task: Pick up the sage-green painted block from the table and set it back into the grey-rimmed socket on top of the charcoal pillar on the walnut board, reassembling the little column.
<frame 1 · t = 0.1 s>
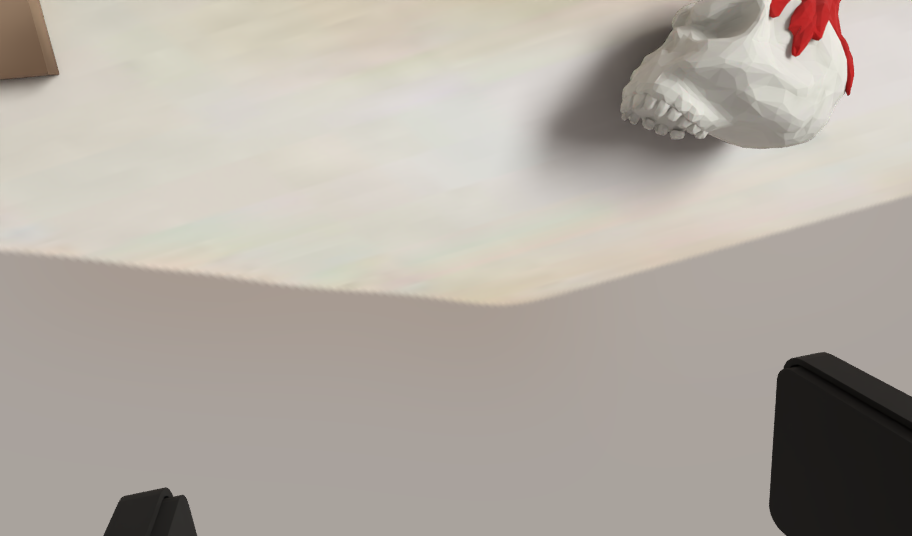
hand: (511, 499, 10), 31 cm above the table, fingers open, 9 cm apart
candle: (712, 62, 42), on the table
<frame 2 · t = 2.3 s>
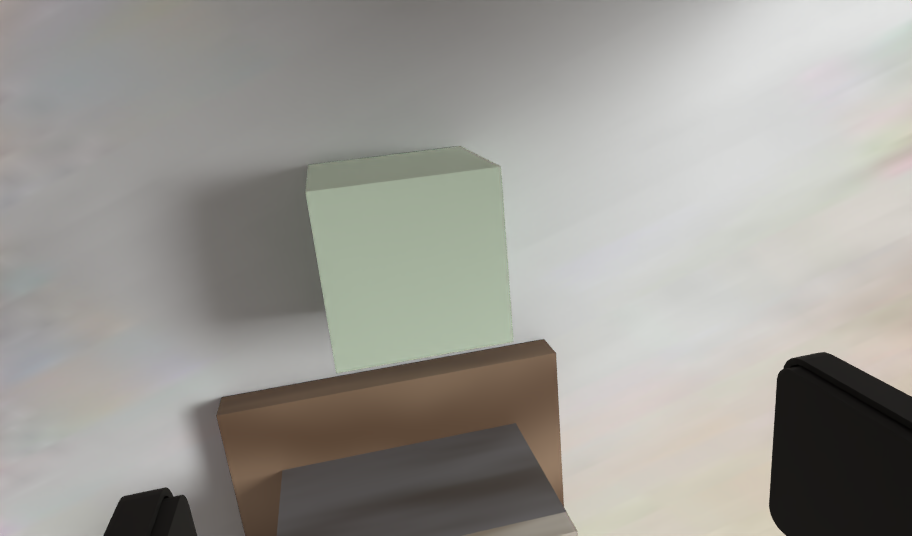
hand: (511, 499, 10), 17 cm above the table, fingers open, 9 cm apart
sage block: (395, 228, 26), on the table
pillar base: (411, 519, 30), on the table
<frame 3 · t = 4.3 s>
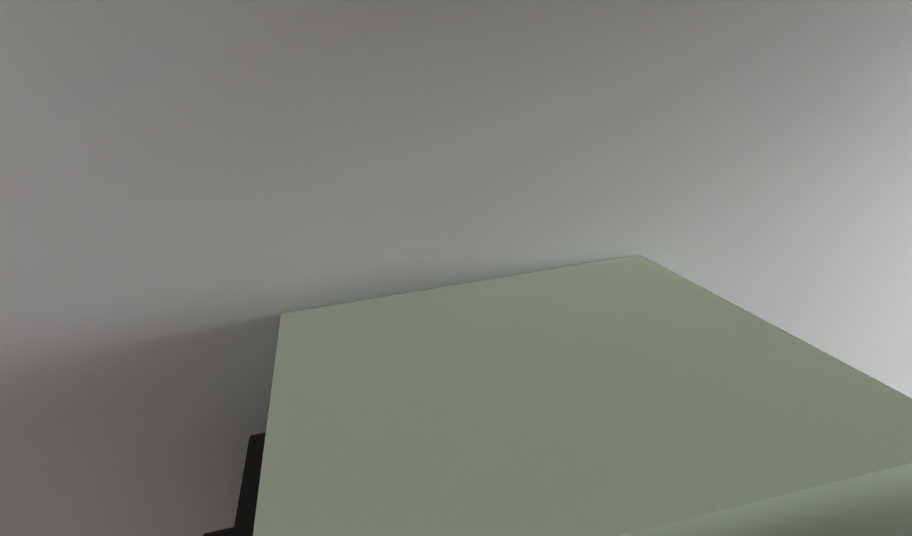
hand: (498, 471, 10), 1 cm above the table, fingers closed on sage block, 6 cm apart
sage block: (484, 442, 11), on the table, touching gripper
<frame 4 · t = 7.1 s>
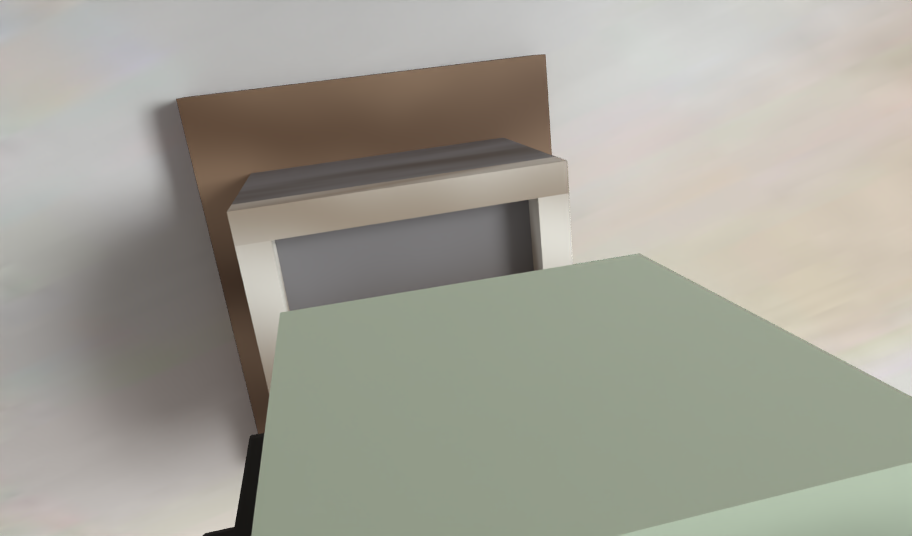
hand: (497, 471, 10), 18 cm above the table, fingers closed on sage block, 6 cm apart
sage block: (484, 441, 11), point 17 cm above the table, touching gripper
pillar base: (394, 263, 28), on the table
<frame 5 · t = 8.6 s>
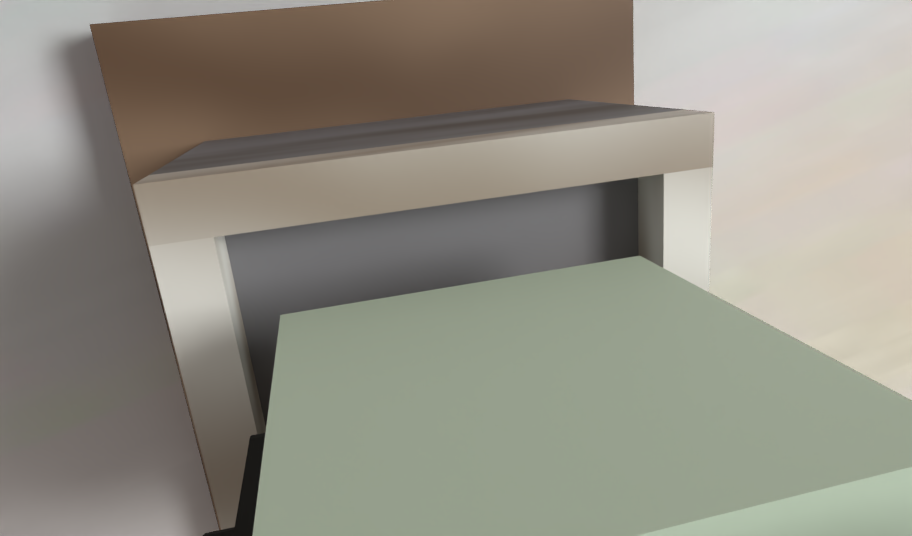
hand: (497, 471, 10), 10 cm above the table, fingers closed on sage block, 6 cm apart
sage block: (484, 443, 11), point 10 cm above the table, touching gripper
pillar base: (409, 276, 20), on the table
when the fingers open (10 cm above the table, at t = 9.9 s): sage block drops 1 cm, resting on pillar base.
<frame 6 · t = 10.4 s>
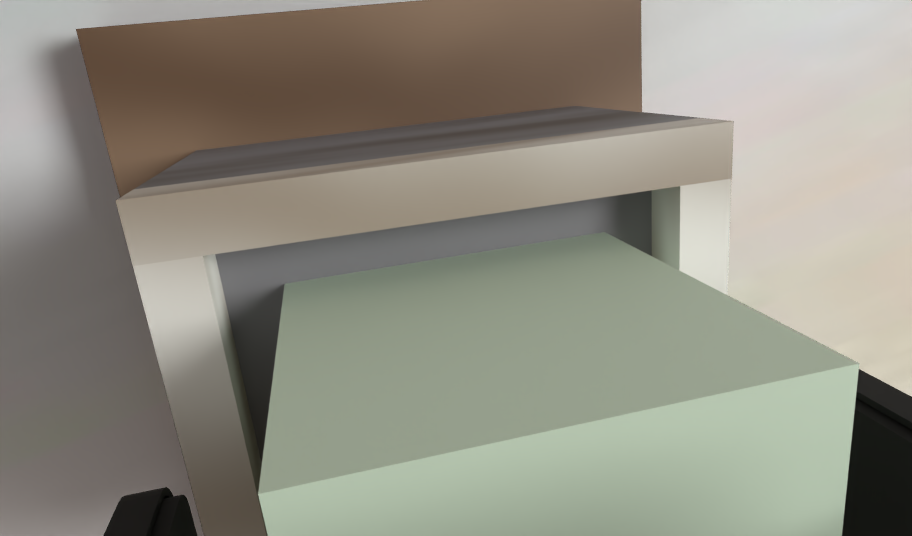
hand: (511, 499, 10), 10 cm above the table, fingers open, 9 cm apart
sage block: (467, 401, 12), point 7 cm above the table, touching pillar base
pillar base: (410, 288, 20), on the table
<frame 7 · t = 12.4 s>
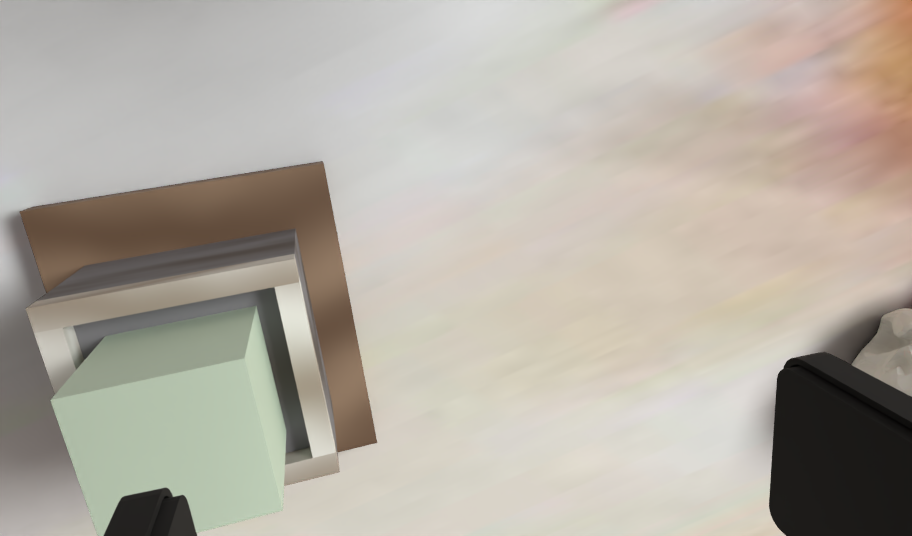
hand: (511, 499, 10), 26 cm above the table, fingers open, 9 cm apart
sage block: (200, 385, 27), point 7 cm above the table, touching pillar base
pillar base: (220, 329, 34), on the table
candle: (910, 337, 46), on the table
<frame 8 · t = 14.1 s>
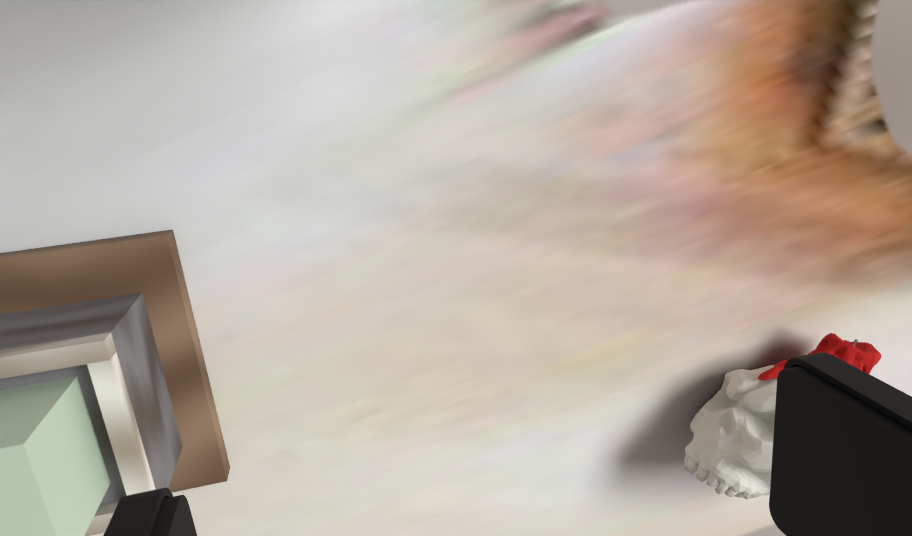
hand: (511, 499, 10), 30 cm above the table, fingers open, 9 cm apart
sage block: (27, 443, 31), point 7 cm above the table, touching pillar base
pillar base: (80, 377, 38), on the table
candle: (756, 392, 49), on the table
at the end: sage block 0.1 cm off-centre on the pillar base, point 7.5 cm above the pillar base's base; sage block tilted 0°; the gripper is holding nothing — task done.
